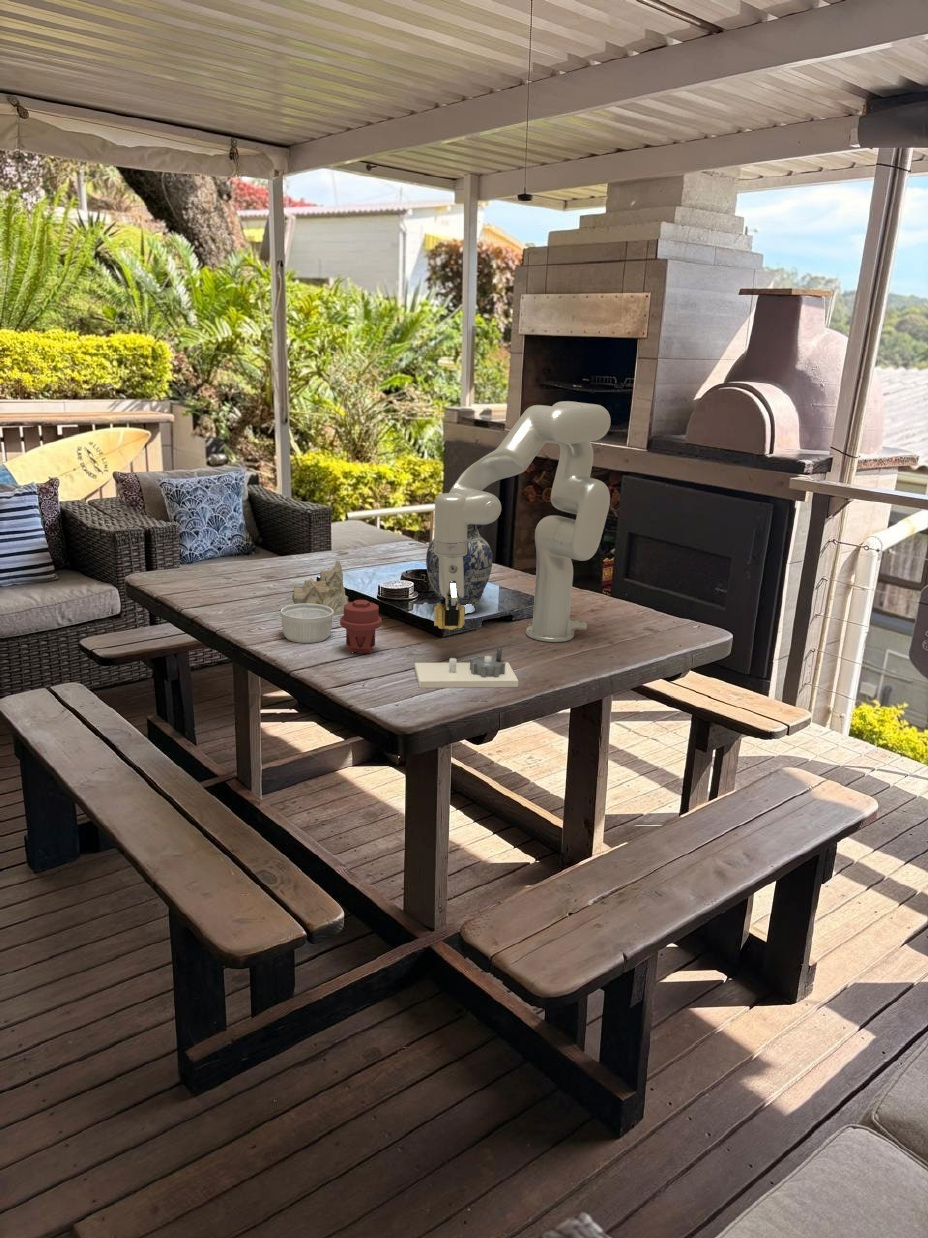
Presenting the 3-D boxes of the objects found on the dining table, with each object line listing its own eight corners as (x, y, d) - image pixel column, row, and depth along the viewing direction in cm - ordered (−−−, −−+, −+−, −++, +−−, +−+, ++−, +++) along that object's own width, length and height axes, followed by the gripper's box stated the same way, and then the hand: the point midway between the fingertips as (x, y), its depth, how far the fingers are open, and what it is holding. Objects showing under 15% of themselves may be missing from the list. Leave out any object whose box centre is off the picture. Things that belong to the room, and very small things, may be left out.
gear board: (507, 668, 215) (509, 640, 213) (517, 687, 204) (519, 657, 202) (414, 668, 212) (415, 640, 210) (419, 687, 201) (420, 657, 199)
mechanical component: (338, 657, 217) (340, 643, 227) (381, 657, 218) (381, 644, 228) (339, 607, 214) (341, 595, 223) (382, 608, 215) (382, 596, 224)
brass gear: (462, 619, 222) (462, 602, 220) (466, 629, 215) (466, 610, 214) (432, 620, 221) (433, 602, 219) (436, 630, 214) (436, 611, 213)
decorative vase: (465, 624, 247) (469, 521, 239) (409, 612, 256) (411, 513, 248) (504, 607, 264) (509, 511, 256) (450, 597, 273) (453, 503, 266)
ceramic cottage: (351, 600, 264) (348, 550, 259) (347, 619, 248) (344, 566, 243) (297, 602, 263) (293, 551, 258) (289, 621, 248) (285, 567, 243)
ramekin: (343, 634, 234) (343, 608, 232) (314, 648, 223) (314, 621, 221) (300, 625, 239) (300, 600, 237) (269, 639, 228) (269, 612, 226)
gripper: (472, 556, 204) (470, 631, 210) (461, 538, 221) (459, 609, 226) (438, 556, 203) (437, 632, 209) (430, 539, 220) (429, 609, 225)
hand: (449, 619), depth 217 cm, fingers closed on brass gear, 7 cm apart
